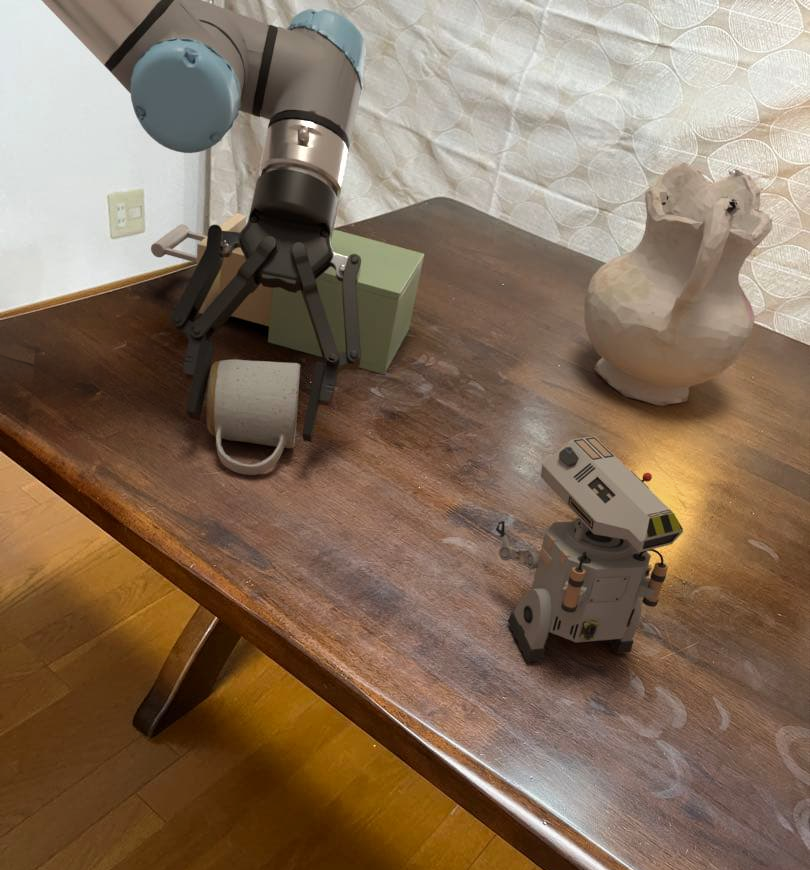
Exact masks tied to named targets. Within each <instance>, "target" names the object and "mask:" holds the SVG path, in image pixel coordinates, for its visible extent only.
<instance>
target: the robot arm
mask: <svg viewBox="0 0 810 870" xmlns="http://www.w3.org/2000/svg"><path fill="white" fill-rule="evenodd" d="M41 1H42V3H43V4H44V5H45V6H46V7H47V8H48V9H49V10H50V11H51V12H52V13H53V14H54V15H55V16H56V18H58V19H59V21H61V23H63V24H64V26H65V27H66V28H67V29H68V30H69V31H70V32H71V33H72V34H73V35H74V36H75V37H76V38H77V39H78V40H79V41H80V42H81V43H82V44H83V46H85V48H87V49H88V50H89V51H90V52H91V54H92V55H93V56H94V57H95V58H96V59H97V60H98V62H100V63H101V64H102V65H103V66H104V67H105V68H106V69H107V70H108V71H109V73H110V74H112V76H114V78H115V79H116V80H117V81H118V82H119V83H120V84H121V85H122V86H123V88H124V89H125V90H126V91H127V92H128V93H129V94H130V100H131V104H132V108H133V111H134V114H135V116H136V119H137V120H138V122H139V124H140V126H141V127H142V129H143V130H144V131H145V132H146V134H148V136H149V137H150V138H152V139H153V140H154V141H155V142H156V143H157V144H159V145H161V146H162V147H164V148H166V149H168V150H171V151H173V152H178V153H183V154H195V153H200V152H204V151H206V150H208V149H211V148H212V147H214V146H215V145H217V144H218V143H219V142H221V141H222V139H223V138H224V137H225V136H226V134H227V133H228V132H229V131H230V130H231V129H232V127H233V125H234V122H235V120H237V117H238V116H239V112H243V113H245V114H249V115H251V116H255V117H258V118H263V119H265V120H269V122H268V126H267V131H266V135H265V140H264V144H263V148H262V153H261V158H260V162H259V168H258V174H259V176H258V177H257V179H256V183H255V187H254V192H253V197H252V201H251V206H250V211H249V215H248V220H247V221H246V226H245V227H244V228H243V229H242V230H241V232H240V233H239V232H230V231H222V229H221V227H220V226H221V225H218V224H211V225H210V226H209V227H208V230H207V235H206V236H207V245H206V250H205V252H204V254H203V256H202V258H201V260H200V261H199V263H198V265H197V264H196V267H195V270H194V271H193V273H192V275H191V277H190V278H189V281H188V283H187V285H186V286H185V288H184V291H183V292H182V295H181V297H180V299H179V300H178V302H177V304H176V306H175V308H174V311H173V312H172V314H171V316H170V323H171V325H172V327H173V328H174V330H175V332H176V334H177V335H178V336H183V337H184V338H186V339H187V340H188V341H187V342H188V343H187V347H186V352H185V356H184V360H183V365H182V370H183V375H184V376H185V378H186V379H188V380H189V379H190V380H192V381H191V386H190V390H189V395H188V399H187V404H186V407H185V408H186V409H185V413H186V414H187V415H188V417H189V418H190V420H195V421H200V420H201V416H202V415H201V414H202V411H203V410H202V409H203V406H204V402H205V401H204V400H205V396H206V390H207V388H208V382H209V375H210V370H211V367H212V362H213V359H214V354H215V350H214V349H215V348H214V347H213V344H212V342H211V340H212V338H213V337H214V336H215V335H216V334H217V333H218V331H220V329H221V328H222V326H223V325H224V324H225V323H226V322H227V321H228V320H229V319H230V317H232V316H231V315H232V314H233V313H234V311H235V310H236V309H237V308H238V307H239V306H240V304H241V303H242V302H243V301H244V300H245V299H246V298H247V296H248V295H249V294H250V293H253V292H254V291H255V290H256V289H257V287H258V286H259V285H260V284H261V283H262V285H263V286H265V287H270V288H277V287H280V288H283V289H285V290H287V291H289V292H294V293H297V291H300V290H301V292H302V295H303V299H304V302H305V304H306V306H307V310H308V313H309V316H310V319H311V322H312V325H313V328H314V331H315V335H316V338H317V341H318V344H319V347H320V350H321V353H322V356H323V357H322V359H323V363H322V362H318V361H316V362H315V366H314V367H315V368H314V372H313V377H312V382H311V387H310V392H309V398H308V402H307V408H306V413H305V417H304V424H303V428H302V434H301V436H302V441H303V442H308V443H312V442H313V437H314V432H315V428H316V422H317V416H318V411H319V406H321V405H322V406H325V407H330V406H331V404H332V403H333V400H334V395H335V390H336V384H337V379H338V375H339V373H341V372H342V371H344V370H351V371H356V370H357V369H359V366H360V359H361V349H360V334H359V320H358V305H357V290H356V285H357V282H358V279H359V275H360V269H361V257H360V256H359V255H357V254H351V255H350V256H349V257H347V256H344V255H341V254H337V253H334V252H333V249H332V246H331V239H332V234H333V229H334V228H335V222H336V218H337V213H338V208H339V197H340V196H341V192H342V188H343V184H344V179H345V175H346V174H345V172H346V169H347V163H348V158H349V150H350V146H351V140H352V136H353V132H354V127H355V123H356V117H357V113H358V107H359V104H360V99H361V95H362V90H363V87H364V83H363V78H364V72H365V71H364V70H365V64H366V57H367V47H366V43H365V39H364V36H363V35H362V33H361V31H360V30H359V29H358V27H356V25H355V24H354V23H353V22H351V21H350V20H349V19H348V18H347V17H345V16H344V15H341V14H340V13H338V12H335V11H332V10H330V9H322V10H320V11H316V10H314V9H313V8H311V9H305V10H301V11H300V12H298V13H297V14H296V15H294V17H293V18H292V19H291V21H290V23H289V26H288V27H286V28H285V27H282V26H275V25H273V24H268V23H266V22H263V21H259V20H257V19H255V18H252V17H249V16H246V15H243V14H240V13H238V12H235V11H233V10H230V9H227V8H225V7H222V6H219V5H216V4H213V3H211V2H208V1H205V0H41ZM334 230H335V229H334ZM235 248H241V250H242V252H243V254H244V256H245V258H246V261H245V262H244V264H243V265H242V266H241V267H240V268H239V270H238V272H237V274H236V276H235V277H234V278H233V279H232V280H231V281H230V283H229V284H228V285H227V286H226V287H225V288H224V290H223V291H222V292H221V293H220V294H219V295H218V296H217V298H216V299H215V300H214V301H213V302H212V303H211V304H210V306H209V307H208V308H207V309H206V310H205V311H204V313H203V314H202V313H201V314H200V315H199V317H198V318H197V316H198V314H199V310H200V308H201V306H202V304H203V302H204V301H205V299H206V297H207V295H208V293H209V291H210V289H211V287H212V285H213V283H214V281H215V279H216V277H217V275H218V273H219V271H220V269H221V267H222V263H223V259H224V257H226V258H227V257H229V256H230V255H231V254H232V251H233V250H234V249H235ZM330 266H331V267H333V268H334V269H335V271H336V278H337V280H339V281H341V282H342V299H343V314H344V329H345V344H346V351H345V352H338V351H337V348H336V345H335V342H334V339H333V336H332V332H331V329H330V326H329V323H328V320H327V317H326V314H325V311H324V308H323V304H322V301H321V298H320V295H319V292H318V288H317V284H316V281H315V280H316V279H317V278H318V277H319V276H320V275H321V274H323V273H324V272H325V271H326V270H327V269H328V268H329V267H330ZM196 318H197V319H196Z"/></svg>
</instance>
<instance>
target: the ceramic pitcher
mask: <svg viewBox="0 0 810 870" xmlns="http://www.w3.org/2000/svg"><path fill="white" fill-rule="evenodd" d="M728 174H729V175H728V176H726V177H724V178H721V179H719V180H716V181H714V182H713V181H709V180H707V178H706V177H705V176H704V175H703V173H702V172H701V170H700V169H698V168H696V167H692V166H691V165H690V164H689V163H688V162H685V161H680V162H679V163H676V164H675V165H673V166H672V167H670V168H668V169H667V170H666V171H665V172H664V173H663V174H662V175H661V176H660V177H659V178H658V180H657V181H656V183H655V186H652V185H650V187H648V189H646V191H645V192H644V193H645V194H644V203H645V211H646V221H645V227H644V233H643V235H642V238H641V240H640V242H639V244H637V246H635V248H634V249H633V250H631V251H630V252H627V253H625V254H621V255H620V256H618V257H615V258H613V259H611V260H608V261H607V262H606V263H604V264H603V265H602V266H600V267H599V268H598V270H597V271H596V272H595V273H594V274H593V276H592V277H591V279H590V282H589V284H588V287H587V290H586V293H585V297H584V303H583V304H584V307H583V308H584V310H583V311H584V312H583V313H584V315H583V316H584V317H583V319H584V324H585V330H586V334H587V336H588V338H589V341H590V342H591V344H592V346H593V348H594V349H595V351H596V354H597V355H598V356H599V357H601V358H600V359H598V361H596V364H595V365H594V367H593V371H595V372H596V373H597V374H598V375H599V376H600V377H601V378H602V379H603V380H604V381H605V382H606V383H607V384H608V385H609V386H611V387H612V388H613V389H614V390H616V391H617V392H619V393H620V394H622V395H623V396H624V397H626V398H630V399H635V400H638V401H642V402H646V403H648V404H652V405H655V406H659V407H660V406H663V407H664V406H667V405H668V406H669V405H674V404H679V403H680V404H681V403H686V402H688V398H689V396H690V395H689V394H690V389H689V388H690V387H691V386H692V387H693V386H696V385H697V386H698V385H700V384H703V383H706V382H708V381H711V380H712V379H714V378H716V377H718V376H720V375H722V374H723V373H724V372H725V371H726V370H728V369H729V368H730V367H731V366H732V365H733V364H735V363H736V361H738V359H739V358H740V357H741V355H743V353H744V351H745V350H746V347H747V345H748V343H749V340H750V338H751V336H752V333H753V330H754V326H755V319H756V316H755V313H754V310H753V306H752V303H751V302H750V300H749V298H748V297H747V295H746V294H745V292H744V289H743V288H742V286H741V285H740V280H739V279H740V278H739V275H740V271H741V269H742V268H743V266H744V263H745V262H746V259H747V258H748V257H749V256H750V254H751V253H752V252H753V251H754V250H755V249H756V248H757V247H758V246H759V245H760V244H761V243H762V242H763V241H764V240H765V239H766V238H767V236H768V235H769V234H770V232H771V231H772V229H773V218H771V217H770V215H769V214H768V213H767V212H765V211H763V210H760V206H761V192H762V191H764V188H763V187H762V188H758V184H757V183H756V182H755V181H754V179H752V176H751V175H750V174H746V173H743V172H742V171H741V170H739V169H734V172H733V171H731V170H728Z"/></svg>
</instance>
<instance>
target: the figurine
mask: <svg viewBox="0 0 810 870" xmlns="http://www.w3.org/2000/svg"><path fill="white" fill-rule="evenodd" d="M540 478H541V479H542V480H543V481H544V482H545V483H546V484H547V486H548V487H549V488H551V490H552V491H553V492H554V493H555V494H556V495H557V496H558V497H559V498H560V500H562V502H563V503H564V504H565V505H566V506H567V507H568V508H569V509H570V510H571V511H572V513H574V515H575V516H577V517H576V518H575V519H574V521H554V522H553V523H552V524H551V526H549V527H548V528H547V530H545V532H544V536H543V540H542V544H541V548H540V550H537V551H530V549H529V548H516V547H515V545H514V544H510V542H509V538H508V535H507V532H506V531H505V530H506V529H505V527H506V526H505V522H506V521H505V520H503V521H500V522H498V523H497V526H496V528H495V531H496V532H497V533H498V534H499V535H500V537H501V538H500V540H501V541H500V542H501V545H502V546H501V547H500V548H499V550H498V555H499V558H500V559H501V560H502V561H509V560H512V561H514V562H517V565H522V566H527V568H528V569H530V570H534V569H535V572H534V577H533V581H532V585H531V588H529V589H528V590H526V591H524V593H523V595H522V596H521V597H520V599H519V601H518V602H517V604H516V608H515V609H514V611H512V612H511V613H510V616H509V617H508V619H507V622H508V626H509V630H510V631H511V632H513V633H512V636H513V638H514V639H516V641H517V643H518V647H519V648H518V649H519V651H521V652H522V657H523V659H524V660H526V661H527V662H538V661H543V658H544V655H545V651H546V648H545V644H546V642H547V639H548V636H549V633H551V634H553V635H556V636H558V637H562V638H564V639H566V640H569V641H571V642H574V643H584V642H585V643H586V642H598V641H607V643H608V644H610V645H611V650H612V651H613V652H615V653H616V654H624V653H625V654H627V653H631V651H632V648H633V645H634V640H633V639H634V636H635V634H636V632H637V629H638V627H639V624H640V621H641V617H642V610H643V604H644V605H645V606H648V607H652V608H653V607H657V606H658V603H659V597H660V594H661V591H662V587H663V585H664V584H663V583H664V582H665V580H666V577H667V572H668V570H669V566H668V565H667V564H666V563H664V558H663V555H662V554H661V552H660V551H659V550H657V549H658V548H662V547H663V548H664V547H666V546H670V545H673V543H675V541H676V540H678V538H679V537H680V536H681V535H682V534H683V533H684V528H683V527H682V525H681V523H680V522H679V519H678V518H677V516H676V514H675V512H673V510H671V509H670V508H669V507H668V506H667V504H666V503H664V502H663V501H662V500H661V499H660V498H659V497H658V496H657V495H656V494H655V493H654V492H653V491H652V489H650V488H649V486H648V485H647V484H646V483H648V482H650V481H651V480H652V478H653V475H652V474H651V473H650V472H644V473H643V475H642V479H641V478H640V477H639V476H638V475H636V473H635V472H634V471H633V470H631V469H629V468H628V466H626V465H625V464H624V463H623V462H622V461H621V460H620V459H619V458H618V457H617V456H616V455H615V454H614V453H613V452H612V451H611V450H610V449H609V448H607V446H605V444H603V443H602V442H601V440H600V439H599V438H597V437H596V436H595V435H594V436H587V437H586V436H585V437H579V438H573V439H570V440H569V441H568V442H566V443H565V444H564V445H563V446H562V447H560V448H559V449H558V450H557V451H556V452H554V454H552V455H551V456H550V457H548V458H547V459H545V461H544V462H542V464H541V469H540ZM645 482H646V483H645ZM500 524H501V528H500ZM649 552H654V553H656V554H657V555H658V556H659V558H660V562H656V563H654V565H653V567H652V565H650V561H651V558H652V555H651V554H650V553H649ZM652 568H653V569H652ZM650 571H651V574H650Z"/></svg>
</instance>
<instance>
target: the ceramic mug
mask: <svg viewBox="0 0 810 870" xmlns="http://www.w3.org/2000/svg"><path fill="white" fill-rule="evenodd" d="M300 377H301V364H300V363H297V362H285V361H284V362H282V361H281V362H280V361H268V360H267V361H264V360H262V361H261V360H246V359H233V358H232V359H225V360H217V361H215V362H214V363H213V364H211V368H210V373H209V377H208V382H207V393H206V394H207V395H206V409H205V410H206V413H205V415H206V416H205V417H206V419H205V420H206V427H207V430H208V432H209V434H211V435H212V436H213V437H215V447H216V453H217V456H218V459H219V461H220V463H222V464H223V465H224V467H226V468H227V469H229V470H230V471H232V472H234V473H236V474H239V475H245V476H257V475H262V474H264V473H266V472H269V471H270V470H271V469H273V467H274V466H275V465H276V464H277V463H278V461H279V460H280V458H281V456H282V454H283V451H284V449H293V448H294V447H295V443H296V433H297V419H298V411H299V409H298V408H299V393H300V392H299V391H300ZM222 440H227V441H234V442H243V443H251V444H256V445H262V446H269V447H276V448H275V449H274V451H273V452H272V453H271V454H270V455H269V456H268V457H267V458H265V459H263V460H262V461H260V462H257V463H254V464H248V463H242V462H240V461H238V460H237V459H234V458H232V457H231V456H230V455H228V454H226V452H225V450H224V448H223V446H222Z"/></svg>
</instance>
